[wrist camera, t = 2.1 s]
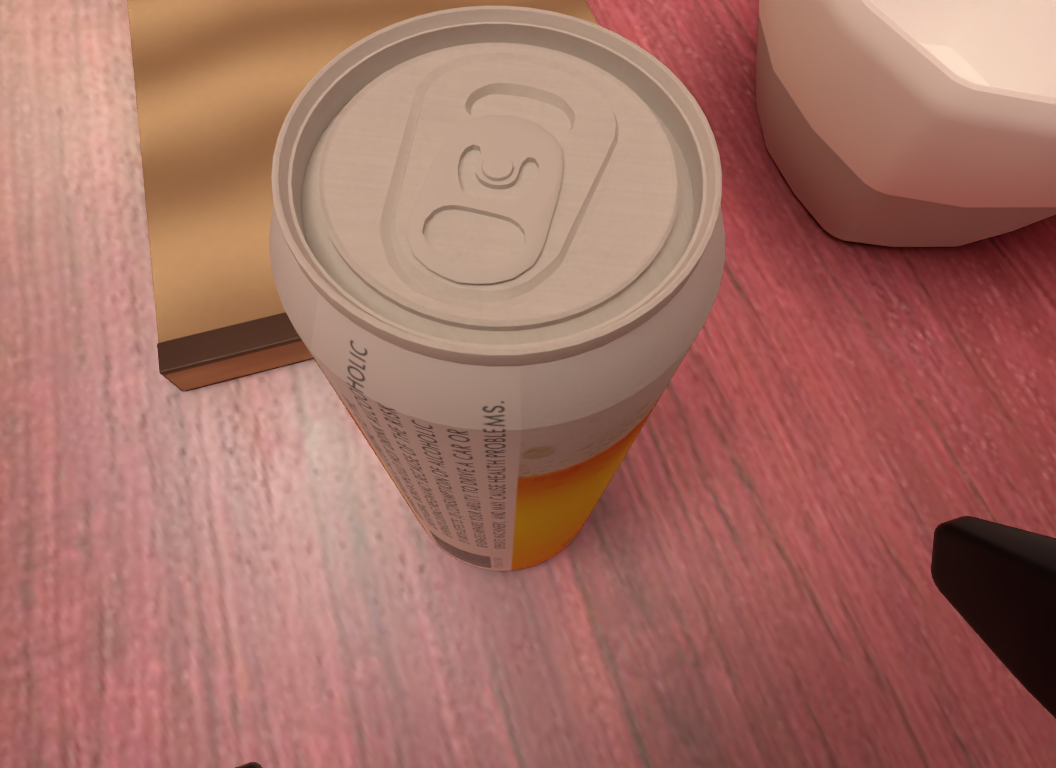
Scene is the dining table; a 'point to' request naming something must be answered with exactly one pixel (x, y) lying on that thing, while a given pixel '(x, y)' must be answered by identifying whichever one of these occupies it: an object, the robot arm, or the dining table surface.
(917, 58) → the bowl
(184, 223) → the board
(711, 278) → the beer can
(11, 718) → the dining table surface
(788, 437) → the dining table surface
